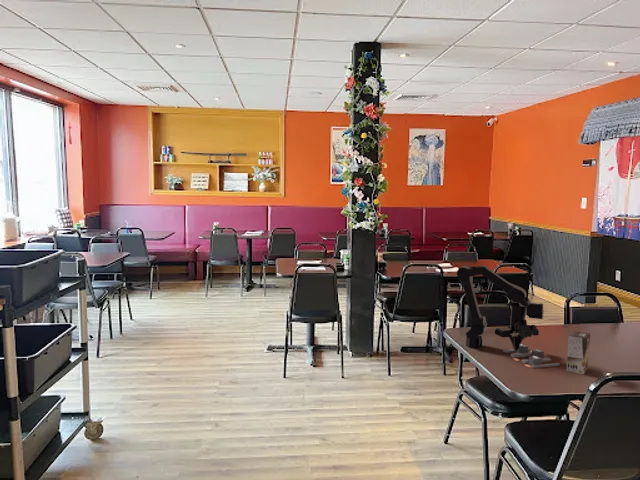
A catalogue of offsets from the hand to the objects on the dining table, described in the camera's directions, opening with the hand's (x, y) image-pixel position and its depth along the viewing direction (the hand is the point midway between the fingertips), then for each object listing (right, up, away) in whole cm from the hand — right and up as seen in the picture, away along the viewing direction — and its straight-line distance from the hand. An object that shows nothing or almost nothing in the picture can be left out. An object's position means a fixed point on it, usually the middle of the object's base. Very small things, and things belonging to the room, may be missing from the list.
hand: (515, 350), depth 208 cm
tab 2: (+7, -2, -6) cm, 9 cm away
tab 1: (+3, -1, +1) cm, 3 cm away
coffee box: (+17, -5, -19) cm, 26 cm away
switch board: (+4, -3, -6) cm, 8 cm away
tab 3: (+2, -3, -15) cm, 15 cm away
